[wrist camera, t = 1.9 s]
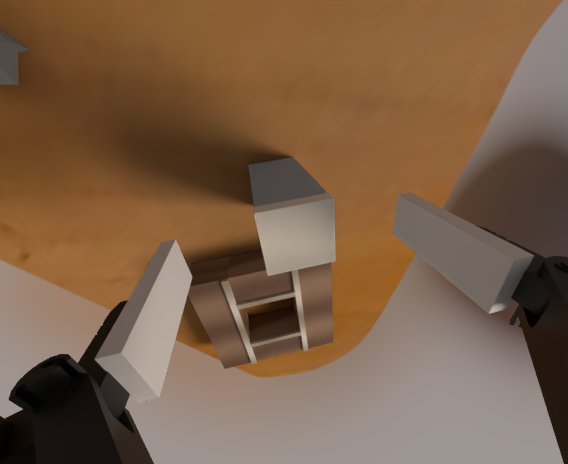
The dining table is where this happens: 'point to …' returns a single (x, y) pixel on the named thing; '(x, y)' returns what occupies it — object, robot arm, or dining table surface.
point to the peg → (291, 216)
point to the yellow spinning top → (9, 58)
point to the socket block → (255, 291)
